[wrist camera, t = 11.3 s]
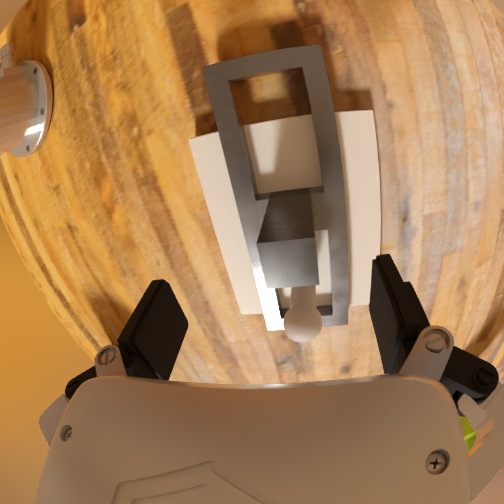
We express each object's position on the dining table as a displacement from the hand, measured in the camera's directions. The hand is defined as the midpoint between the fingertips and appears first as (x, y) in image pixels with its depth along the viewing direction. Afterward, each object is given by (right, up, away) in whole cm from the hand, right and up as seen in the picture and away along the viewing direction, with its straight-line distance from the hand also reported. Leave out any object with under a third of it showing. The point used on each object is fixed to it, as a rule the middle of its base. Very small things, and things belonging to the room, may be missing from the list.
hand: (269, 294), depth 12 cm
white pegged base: (+3, +4, +11) cm, 13 cm away
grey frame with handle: (+2, +5, +9) cm, 11 cm away
